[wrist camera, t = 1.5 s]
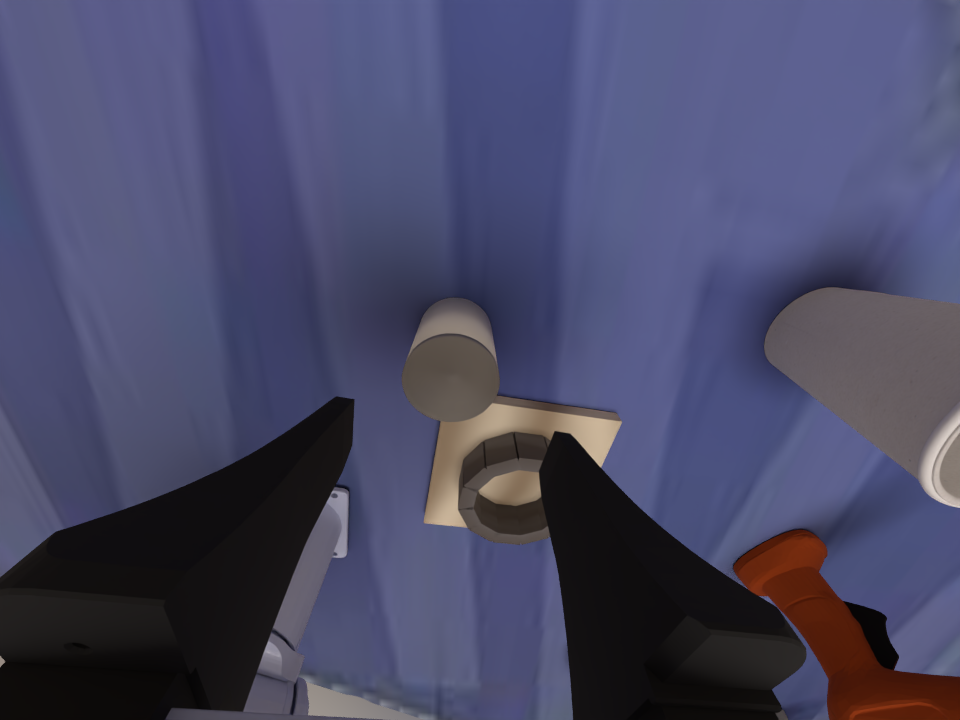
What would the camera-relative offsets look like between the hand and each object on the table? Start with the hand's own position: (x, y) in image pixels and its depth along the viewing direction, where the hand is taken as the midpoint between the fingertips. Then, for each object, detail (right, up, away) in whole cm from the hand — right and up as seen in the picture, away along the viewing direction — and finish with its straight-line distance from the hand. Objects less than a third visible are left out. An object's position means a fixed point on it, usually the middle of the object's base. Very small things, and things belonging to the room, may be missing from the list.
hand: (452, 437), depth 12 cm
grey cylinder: (0, +4, +8) cm, 10 cm away
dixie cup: (+22, +5, +9) cm, 24 cm away
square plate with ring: (+4, -5, +13) cm, 15 cm away
